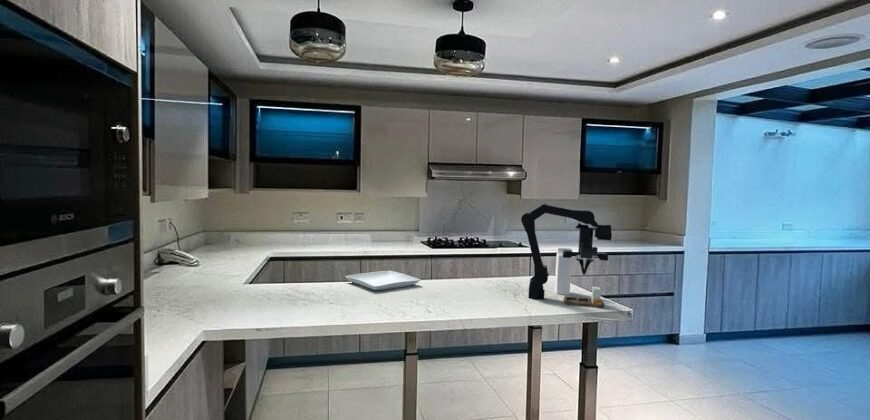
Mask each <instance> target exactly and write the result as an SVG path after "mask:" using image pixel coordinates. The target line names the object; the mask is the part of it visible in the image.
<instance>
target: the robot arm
mask: <svg viewBox="0 0 870 420" xmlns="http://www.w3.org/2000/svg"><path fill="white" fill-rule="evenodd" d="M545 214H548V215H554V216H559V217H564V218H568V219H572V220H575V221H577V222H578V223H577V224H576V225H575V226H574V228H575V229H579V230H578V231H579V233H578V250H577V251H578V252H577V251H573V250H572V249H571V250H563V255H562V256H563V257H564V258H571V257H572V258H573V257H575V261H578V262H579V265H580V269H581V272H582V275H584V276H585V275H586V273H587V270H588V269H589V266H590V265H591V263H593V262H594V261H595V260H594V259H599V260H600V261H609V254H608V253H607V252H603V251H598V247H597V246H593V242H594V241H593V240H594V238H596V240H597V241H612V238H613V236H612V235H613V233H612V225H611V224H598V222H597V221H596V220H595V218H596V217H595V214H594V213H593V211H591V210H588V209H570V208H565V207H560V206H555V205H550V204H549V205H548V204H546V203H541V204H540V206H539V207H536V208H535V209H534V210H532V211H530V212H529V211H527V212H524V213H523V214H522V215H521V219H520V221H521V224H522V226H523V228H524V230H525V232H526V234H527V239H528V244H529V248H530V253H531V257H532V261H533V267H534V268H533V272H534V275H533V276H532V277H531V278H529V284H528V299H531V300H538V301H539V300H545V290H546V289H545V288H544V284H546V283H547V282H548V281H549V280H548V279H549V277H550V273H549V271H548V264H544V262H543V260H542V255H541V252H540V251H541V250H540V247H539V242H538V239H537V233H536V220H537V219H538V218H540V217H542V216H543V215H545ZM581 223H583V224H581ZM589 225H591V226H592V227H589ZM584 259H585V260H584ZM584 261H585V262H584Z"/></svg>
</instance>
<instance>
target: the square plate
mask: <svg viewBox="0 0 870 420" xmlns="http://www.w3.org/2000/svg"><path fill="white" fill-rule="evenodd" d="M345 278H346V280H348V281H349V282H352V283H353V284H354V283H355V284H356V285H359V286H362V287H366V288H367V289H371V290H374V291H383V290H390V289H396V288H397V289H398V288H404V287H408V286H412V285H416V284H418V283H419V282H420V281H421V279H420V278H417V277H414V276H412V275H408V274H405V273H402V272H397V271H394V270H382V271H379V270H378V271H372V272H365V273H364V272H362V273H355V274H350V275H345Z"/></svg>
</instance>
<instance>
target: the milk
mask: <svg viewBox="0 0 870 420" xmlns="http://www.w3.org/2000/svg"><path fill="white" fill-rule="evenodd" d="M563 250H572V249H571V248H567V247H566V248H564V247H558V248H557V252H556V258H555V259H556V260H555V278H554V279H555V280H554V293H555V294H556V295H564V296H566V295H567V296H568V295H569V296H570V294H571V293H570V291H571V279H572V278H571V276H572V275H571V274H572V273H571V272H572V259H573V256H572V257H571V258H564V257H563V256H562V255H563Z"/></svg>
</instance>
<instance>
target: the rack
mask: <svg viewBox="0 0 870 420" xmlns="http://www.w3.org/2000/svg"><path fill="white" fill-rule="evenodd" d="M563 303H564V306H575V307H585V308H598V309H606V307H605V303H604V302H603V299H601V298H600V300H598V299H593V304H592V303H591V297H590V298H589V297H577V296H568V295H567V296H566V295H564V297H563Z"/></svg>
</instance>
